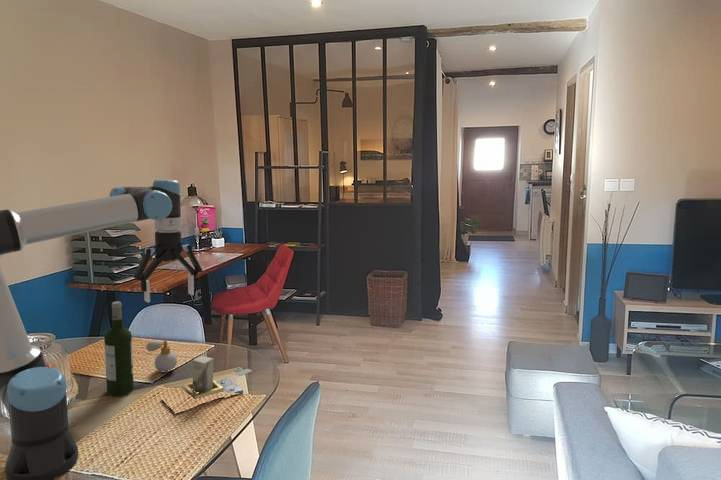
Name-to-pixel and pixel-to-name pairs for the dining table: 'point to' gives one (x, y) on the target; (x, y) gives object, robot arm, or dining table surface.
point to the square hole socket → (214, 388)
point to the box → (202, 374)
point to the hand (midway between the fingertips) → (169, 297)
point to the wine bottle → (118, 355)
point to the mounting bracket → (242, 371)
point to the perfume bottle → (162, 356)
